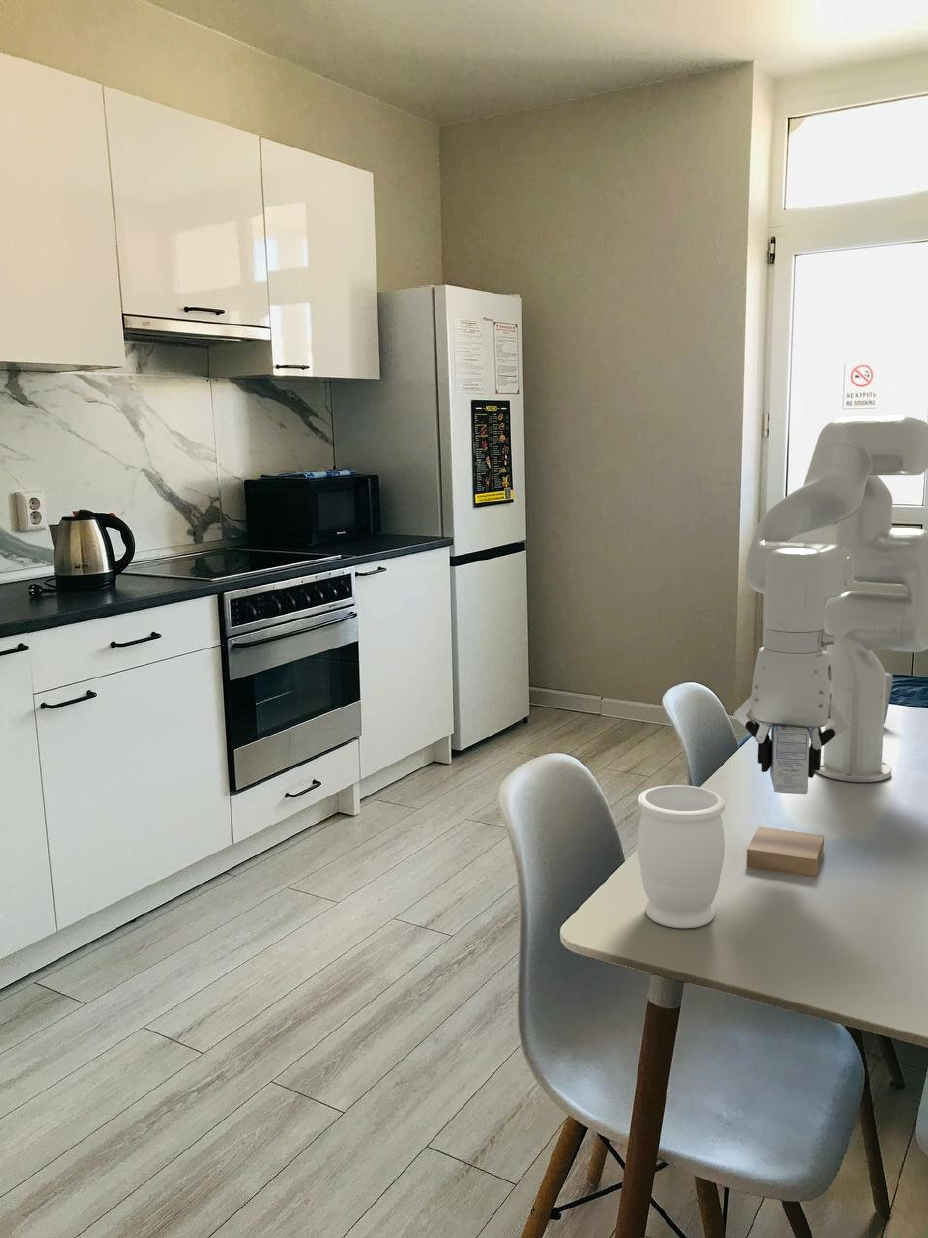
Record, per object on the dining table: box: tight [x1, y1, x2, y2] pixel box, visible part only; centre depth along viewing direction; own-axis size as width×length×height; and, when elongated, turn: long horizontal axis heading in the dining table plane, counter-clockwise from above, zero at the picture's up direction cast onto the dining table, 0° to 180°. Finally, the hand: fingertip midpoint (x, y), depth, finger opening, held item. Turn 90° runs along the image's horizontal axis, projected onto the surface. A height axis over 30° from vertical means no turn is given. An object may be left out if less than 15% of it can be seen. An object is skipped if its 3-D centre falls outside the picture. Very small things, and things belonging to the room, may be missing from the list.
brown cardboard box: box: [746, 826, 825, 879], centre depth 139 cm, size 9×9×3 cm
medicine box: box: [769, 724, 810, 795], centre depth 137 cm, size 8×4×9 cm, turn 167°
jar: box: [637, 784, 726, 929], centre depth 123 cm, size 11×10×15 cm
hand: (788, 770), depth 137 cm, fingers closed on medicine box, 5 cm apart
